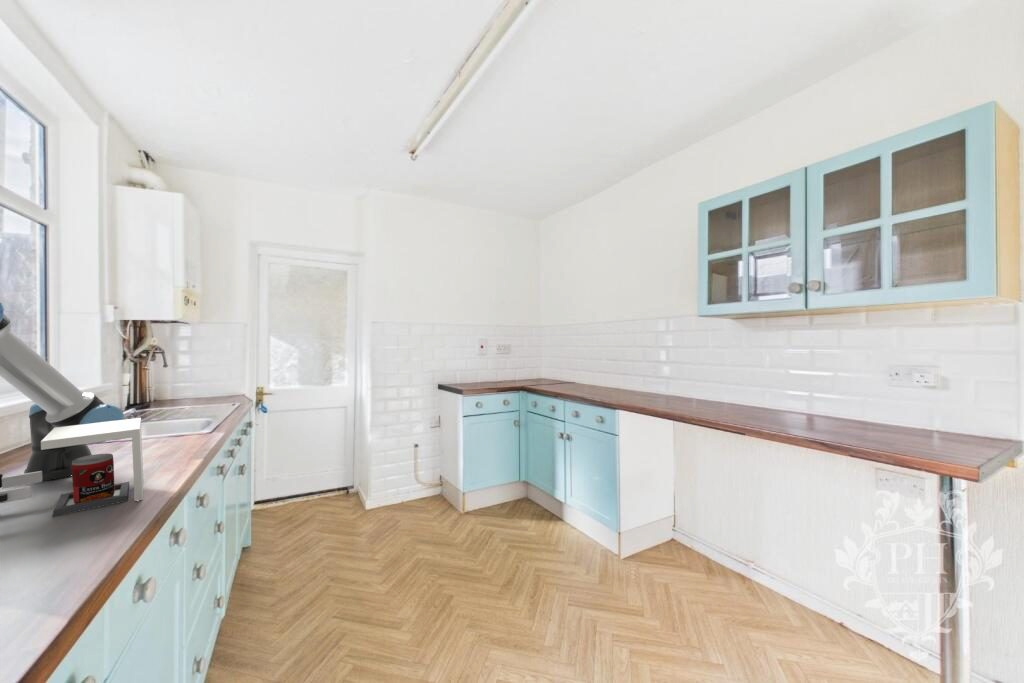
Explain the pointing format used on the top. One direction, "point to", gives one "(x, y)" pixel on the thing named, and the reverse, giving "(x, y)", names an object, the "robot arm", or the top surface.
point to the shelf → (100, 434)
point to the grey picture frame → (68, 505)
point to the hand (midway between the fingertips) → (36, 483)
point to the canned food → (93, 477)
